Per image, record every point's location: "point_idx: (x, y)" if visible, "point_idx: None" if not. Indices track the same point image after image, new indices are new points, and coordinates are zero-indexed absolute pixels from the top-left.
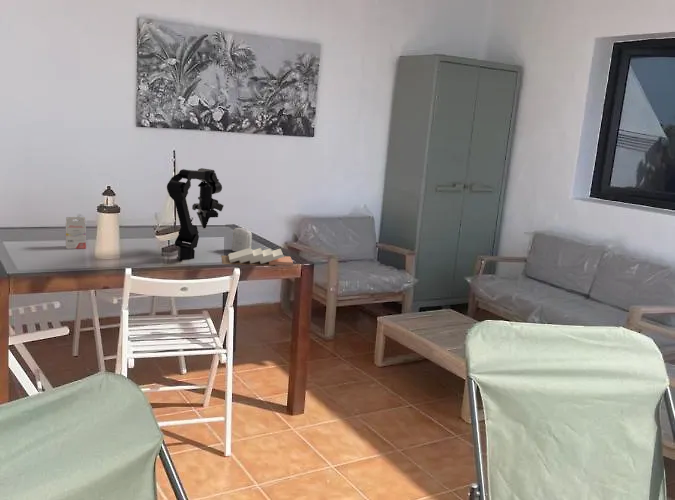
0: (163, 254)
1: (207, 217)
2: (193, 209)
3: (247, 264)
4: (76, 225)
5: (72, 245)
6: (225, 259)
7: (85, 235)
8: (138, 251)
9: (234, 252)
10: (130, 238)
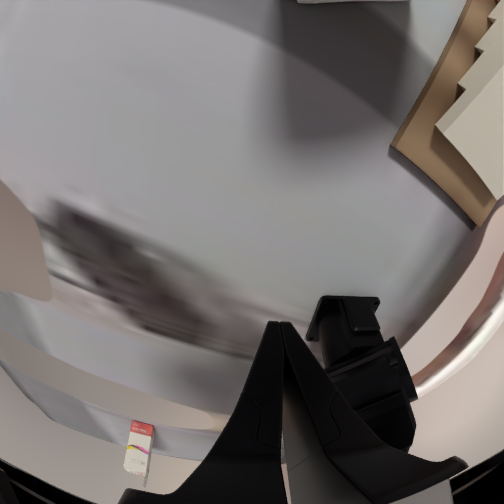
0: (236, 353)
1: (475, 466)
2: (76, 499)
3: None
4: (147, 472)
5: (153, 437)
6: (455, 175)
7: (149, 450)
8: (183, 385)
9: (469, 112)
10: (41, 345)
